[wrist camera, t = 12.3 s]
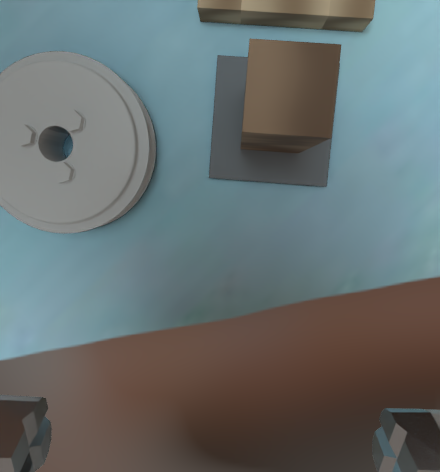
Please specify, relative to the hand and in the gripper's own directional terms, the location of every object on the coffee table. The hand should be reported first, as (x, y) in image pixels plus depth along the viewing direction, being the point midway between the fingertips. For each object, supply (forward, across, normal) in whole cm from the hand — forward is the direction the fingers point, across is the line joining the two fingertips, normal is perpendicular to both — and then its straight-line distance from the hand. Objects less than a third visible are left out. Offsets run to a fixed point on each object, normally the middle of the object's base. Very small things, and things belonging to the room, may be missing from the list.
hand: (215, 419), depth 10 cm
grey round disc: (+26, +11, +1) cm, 28 cm away
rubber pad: (+25, -4, -2) cm, 26 cm away
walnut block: (+25, -4, -3) cm, 25 cm away
